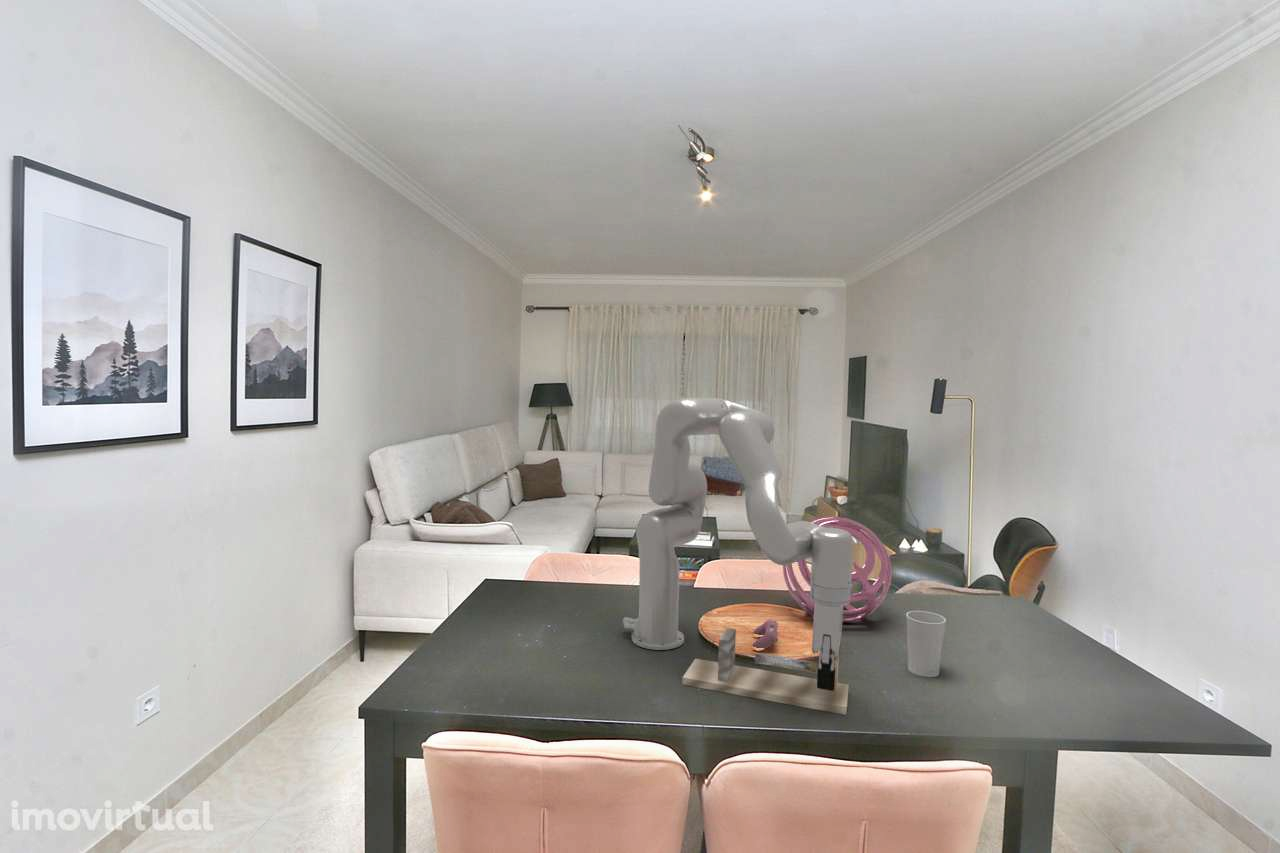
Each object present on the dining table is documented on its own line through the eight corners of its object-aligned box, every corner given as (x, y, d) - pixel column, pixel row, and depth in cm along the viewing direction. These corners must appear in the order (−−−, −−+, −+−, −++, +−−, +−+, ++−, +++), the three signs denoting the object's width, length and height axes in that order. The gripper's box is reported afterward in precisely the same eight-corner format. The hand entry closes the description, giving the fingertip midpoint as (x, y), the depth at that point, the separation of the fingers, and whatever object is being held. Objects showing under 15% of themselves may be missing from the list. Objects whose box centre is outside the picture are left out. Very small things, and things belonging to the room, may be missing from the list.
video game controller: (768, 660, 148) (783, 634, 147) (750, 649, 149) (765, 624, 148) (768, 643, 158) (782, 620, 157) (751, 634, 159) (765, 610, 158)
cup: (941, 666, 143) (943, 613, 142) (945, 681, 136) (948, 625, 135) (902, 660, 146) (905, 608, 145) (904, 675, 138) (907, 620, 138)
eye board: (682, 684, 131) (683, 636, 131) (695, 665, 141) (696, 620, 140) (846, 715, 120) (848, 663, 120) (848, 691, 130) (850, 643, 129)
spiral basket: (791, 526, 196) (804, 487, 172) (885, 556, 189) (912, 520, 165) (766, 613, 183) (776, 584, 160) (866, 648, 176) (892, 623, 153)
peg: (753, 676, 129) (754, 646, 129) (757, 668, 133) (757, 639, 133) (836, 690, 124) (837, 660, 123) (837, 681, 128) (838, 652, 127)
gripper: (814, 578, 134) (810, 663, 136) (806, 602, 119) (802, 699, 120) (851, 583, 132) (848, 670, 133) (848, 608, 116) (844, 706, 117)
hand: (826, 682), depth 126 cm, fingers closed on peg, 4 cm apart
